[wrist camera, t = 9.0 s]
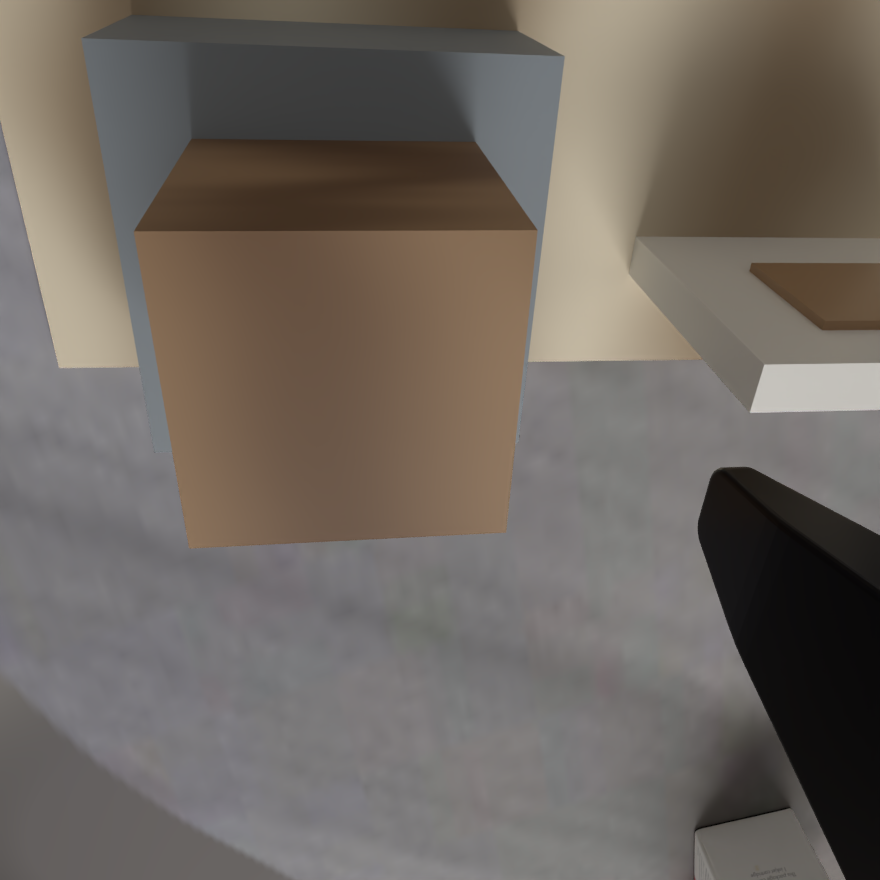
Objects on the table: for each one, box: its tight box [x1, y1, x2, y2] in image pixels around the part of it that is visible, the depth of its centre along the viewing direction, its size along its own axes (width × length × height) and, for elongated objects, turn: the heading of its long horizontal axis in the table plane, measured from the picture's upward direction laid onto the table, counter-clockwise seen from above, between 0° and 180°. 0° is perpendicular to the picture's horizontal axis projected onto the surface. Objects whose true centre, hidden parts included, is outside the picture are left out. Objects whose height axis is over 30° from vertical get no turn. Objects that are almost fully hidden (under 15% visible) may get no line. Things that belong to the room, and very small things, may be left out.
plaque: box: [629, 236, 880, 413], centre depth 18 cm, size 7×1×7 cm, turn 87°
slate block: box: [81, 15, 565, 453], centre depth 17 cm, size 8×8×4 cm
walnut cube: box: [134, 139, 538, 548], centre depth 13 cm, size 5×5×5 cm
